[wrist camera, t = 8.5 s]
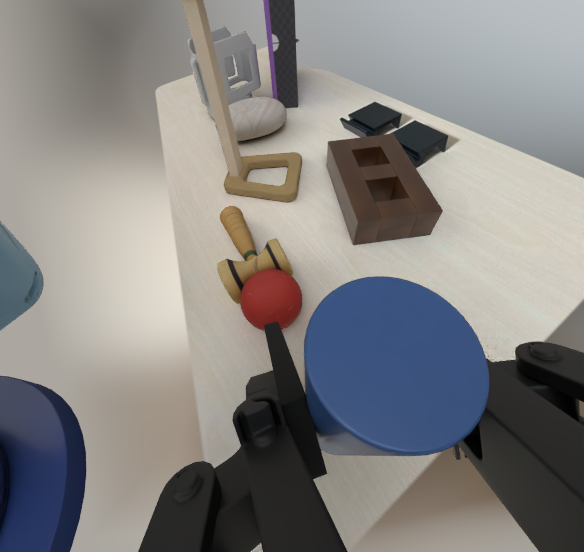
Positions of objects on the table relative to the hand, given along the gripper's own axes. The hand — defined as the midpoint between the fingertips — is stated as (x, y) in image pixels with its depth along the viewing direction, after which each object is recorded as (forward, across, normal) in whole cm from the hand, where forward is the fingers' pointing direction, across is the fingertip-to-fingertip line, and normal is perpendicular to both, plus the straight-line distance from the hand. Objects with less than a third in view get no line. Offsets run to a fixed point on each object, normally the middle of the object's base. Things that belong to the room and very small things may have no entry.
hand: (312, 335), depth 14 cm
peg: (0, 0, -5) cm, 5 cm away
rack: (+24, +17, +6) cm, 30 cm away
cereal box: (+52, +16, +34) cm, 64 cm away
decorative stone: (+41, +5, +23) cm, 47 cm away
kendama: (+19, -2, +1) cm, 19 cm away
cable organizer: (+48, +3, +30) cm, 57 cm away
